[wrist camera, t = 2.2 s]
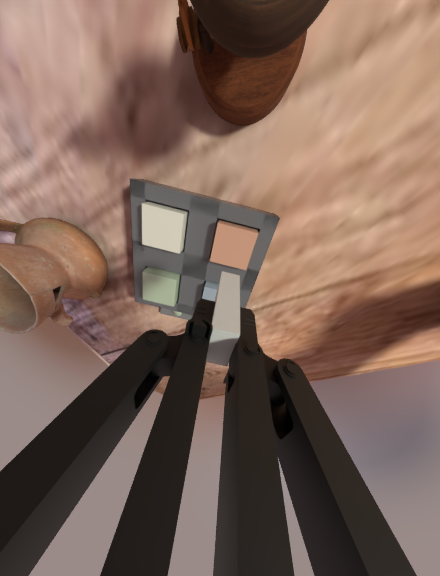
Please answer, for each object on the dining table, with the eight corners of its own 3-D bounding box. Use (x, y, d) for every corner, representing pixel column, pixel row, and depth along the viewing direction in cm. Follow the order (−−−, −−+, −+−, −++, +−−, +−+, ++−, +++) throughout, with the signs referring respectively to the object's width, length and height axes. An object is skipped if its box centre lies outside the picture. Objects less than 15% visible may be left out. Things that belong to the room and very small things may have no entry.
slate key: (237, 287, 30) (237, 294, 28) (229, 312, 33) (229, 319, 31) (206, 280, 30) (204, 286, 28) (201, 305, 33) (198, 312, 31)
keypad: (275, 213, 26) (279, 217, 23) (238, 314, 36) (238, 326, 33) (142, 179, 25) (129, 178, 22) (143, 291, 36) (134, 301, 33)
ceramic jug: (136, 275, 34) (77, 324, 22) (91, 303, 39) (21, 357, 26) (55, 183, 27) (-98, 178, 15) (12, 231, 32) (-130, 258, 20)
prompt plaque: (218, 313, 37) (218, 316, 36) (215, 323, 38) (215, 326, 38) (162, 300, 36) (160, 302, 36) (161, 310, 38) (160, 313, 37)
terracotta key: (257, 229, 25) (258, 233, 23) (245, 264, 28) (246, 270, 26) (219, 219, 25) (217, 222, 23) (211, 255, 27) (209, 261, 26)
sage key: (180, 273, 30) (176, 280, 28) (177, 299, 32) (173, 306, 31) (148, 265, 29) (142, 271, 28) (148, 292, 32) (142, 299, 30)
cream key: (188, 211, 24) (183, 214, 23) (183, 248, 27) (179, 253, 25) (149, 201, 24) (141, 203, 22) (148, 240, 27) (142, 244, 25)
